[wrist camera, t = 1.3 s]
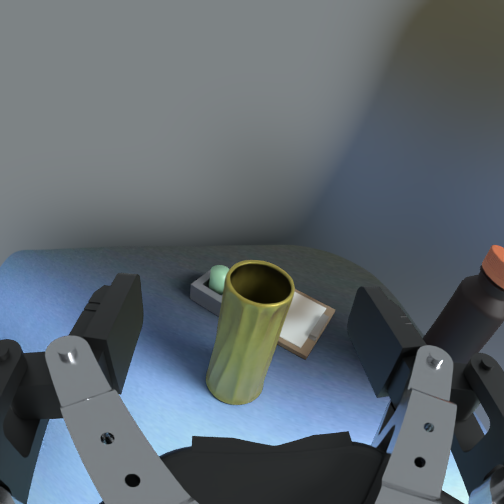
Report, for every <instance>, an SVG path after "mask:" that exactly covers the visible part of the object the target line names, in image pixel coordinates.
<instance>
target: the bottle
mask: <svg viewBox="0 0 504 504" xmlns="http://www.w3.org/2000/svg"><path fill="white" fill-rule="evenodd" d="M480 270H481V271H480V273H479V275H474V276H470V277H466V278H465V279H464V280H462V282H461V283H460V285H459V286H458V288H457V290H456V291H455V293H454V294H453V296H452V297H451V299H450V300H449V302H448V303H447V305H446V306H445V308H444V309H443V311H442V312H441V314H440V315H439V317H438V318H437V319H436V321H435V322H434V324H433V325H432V326H431V328H430V329H429V331H428V332H427V333H426V335H425V336H424V337H423V340H424V341H425V343H426V344H427V345H431V346H436V347H439V348H441V349H442V350H444V351H445V352H447V353H448V354H449V356H450V357H451V358H452V361H453V362H455V363H463V364H468V362H469V360H470V359H471V357H472V355H474V354H475V353H478V352H479V351H480V350H481V349H482V348H483V346H484V345H485V344H486V343H487V342H488V340H489V339H490V338H491V337H492V335H493V334H494V333H495V332H496V330H497V329H498V328H499V327H500V325H501V324H502V323H503V321H504V248H502V247H500V246H497V245H493V246H491V248H490V250H489V252H488V254H487V256H486V257H485V259H484V260H483V262H482V265H481V267H480Z"/></svg>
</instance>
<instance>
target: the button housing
mask: <svg viewBox="0 0 504 504" xmlns="http://www.w3.org/2000/svg"><path fill="white" fill-rule="evenodd" d="M210 273H211V270H209V271H208V272H207V273H205V274H204V275H203V276H201V277H200V278H199V279H197V280H196V281H195V282H193V283H192V284H191V289H190V299H191V300H193V301H195V302H196V303H198V304H199V305H201V306H202V307H204V308H206V309H207V310H209V311H210V312H212V313H213V314H215V315H217V316H218V317H219V315H220V308H221V303H222V295H219V294H218V293H216V292H214V291H212V290H211V289H209V281H210Z"/></svg>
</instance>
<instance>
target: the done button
mask: <svg viewBox="0 0 504 504" xmlns="http://www.w3.org/2000/svg"><path fill="white" fill-rule="evenodd" d="M228 271H229V269H228V268H227V267H225V266H222V265H216V266H213V267H212V268H211V273H210V281H209V289H211V290H212V291H214V292H216V293H218V294H219V295H223V289H224V282H225V277H226V274H227V272H228Z"/></svg>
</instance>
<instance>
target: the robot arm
mask: <svg viewBox="0 0 504 504" xmlns="http://www.w3.org/2000/svg"><path fill="white" fill-rule="evenodd" d="M142 324H143V303H142V293H141V282H140V276H139V275H138V274H128V273H118V274H117V275H116V277H115V279H114V281H113V282H112V284H111V286H107V285H104V286H102V287H101V288H100V289H98V290H97V291H95V292H94V293H93V295H92V297H91V298H90V300H89V303H87V305H86V307H85V308H84V311H83V312H82V313H81V315H80V317H79V318H78V320H77V322H76V324H75V325H74V327H73V329H72V331H71V332H70V334H69V336H63V337H60V338H58V339H56V340H54V341H53V342H51V343H50V344H49V346H48V347H47V349H46V352H35V353H23V351H22V349H21V347H20V345H19V344H18V343H17V342H16V341H14V340H10V339H4V340H0V504H27V499H28V495H29V490H30V486H31V481H32V477H33V473H34V469H35V465H36V462H37V458H38V454H39V451H40V447H41V444H42V440H43V437H44V434H45V431H46V427H47V424H48V421H49V419H58V418H64V421H65V423H66V426H67V428H68V430H69V433H70V435H71V438H72V440H73V442H74V444H75V447H76V449H77V451H78V453H79V455H80V457H81V460H82V462H83V464H84V466H85V468H86V470H87V472H88V474H89V476H90V478H91V479H92V481H93V483H94V485H95V487H96V489H97V491H98V492H99V494H100V496H101V498H102V499H103V501H102V502H101V503H99V504H464V503H462V502H461V501H459V500H457V499H456V498H454V497H452V496H451V495H449V494H447V493H446V492H444V491H442V486H443V482H444V478H445V474H446V469H447V465H448V460H449V455H450V450H451V452H452V454H453V456H454V459H455V461H456V464H457V466H458V469H459V471H460V474H461V476H462V479H463V482H464V484H465V487H466V490H467V492H468V495H469V504H504V371H503V370H502V368H501V367H500V365H499V364H498V363H497V361H495V360H494V359H493V358H492V357H491V356H489V355H487V354H483V353H475V354H474V355H472V357H471V359H470V360H469V362H468V364H463V363H455V362H453V361H452V358H451V357H450V356H449V354H448V353H447V352H445V351H444V350H442V349H441V348H439V347H436V346H431V345H427V344H426V343H425V341H424V340H423V339H422V337H421V336H420V334H419V333H418V331H417V330H416V329H415V327H414V326H413V324H411V322H410V320H409V319H408V317H406V315H405V313H404V312H403V310H402V309H401V308H400V307H399V306H398V305H397V304H395V303H394V302H393V301H391V300H389V299H388V298H387V296H386V295H385V294H384V292H383V291H382V290H381V288H380V287H363V286H362V287H360V288H359V289H358V290H357V293H356V296H355V300H354V303H353V306H352V309H351V313H350V316H349V319H348V324H347V329H348V335H349V337H350V339H351V341H352V344H353V346H354V348H355V350H356V352H357V355H358V357H359V359H360V361H361V363H362V366H363V368H364V370H365V372H366V374H367V377H368V379H369V381H370V383H371V386H372V388H373V390H374V393H375V395H376V397H377V398H379V397H386V396H389V397H390V399H391V400H390V402H389V403H388V405H387V407H386V410H385V413H384V415H383V418H382V420H381V423H380V425H379V428H378V430H377V433H376V435H375V437H374V440H373V442H372V444H371V446H370V445H367V444H363V443H358V442H352V441H351V438H350V434H349V431H347V432H339V433H330V434H320V435H312V436H309V437H306V438H303V439H299V440H296V441H292V442H289V443H285V444H282V445H278V446H271V445H265V444H260V443H255V442H250V441H245V440H240V439H236V438H222V437H201V436H192V446H191V447H184V448H180V449H176V450H173V451H170V452H168V453H165V454H163V455H161V456H158V455H157V453H156V452H155V451H154V449H153V448H152V446H151V445H150V443H149V442H148V440H147V439H146V437H145V436H144V434H143V433H142V431H141V430H140V428H139V427H138V425H137V424H136V422H135V421H134V419H133V418H132V416H131V414H130V413H129V411H128V409H127V408H126V406H125V405H124V403H123V401H122V399H121V398H120V396H119V394H121V393H122V390H123V386H124V383H125V379H126V376H127V373H128V369H129V366H130V363H131V359H132V356H133V353H134V350H135V347H136V344H137V341H138V337H139V334H140V331H141V328H142ZM480 403H481V404H482V406H483V408H484V410H485V412H486V413H487V415H488V417H489V419H490V429H489V431H488V432H487V434H486V435H484V433H483V431H482V429H481V427H480V425H479V423H478V421H477V420H476V418H475V416H474V414H473V412H474V411H475V409H476V408H477V407H478V406H479V404H480Z"/></svg>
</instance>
